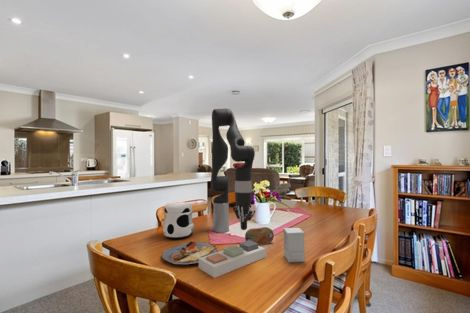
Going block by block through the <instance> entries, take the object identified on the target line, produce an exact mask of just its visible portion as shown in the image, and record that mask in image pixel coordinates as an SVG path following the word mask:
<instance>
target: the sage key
mask: <svg viewBox="0 0 470 313" xmlns="http://www.w3.org/2000/svg"><path fill="white" fill-rule="evenodd" d="M223 250H224V254H226V255H228V256H230V257H232V258H233V257H236V256H239V255H241V254H243V248H241V247H238V245H236V244H233V245H230V246H227V247H223Z"/></svg>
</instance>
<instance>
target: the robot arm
mask: <svg viewBox="0 0 470 313" xmlns="http://www.w3.org/2000/svg"><path fill="white" fill-rule="evenodd" d="M211 112H212V113H211V131H212V133H211V134H212V140H211V141H212V142H211V143H212V144H211V175H210V189H211V191H212V192H222V193H221V194H218V195H217V196H215V197H213V214H212V230H213V231H214V233H220V234H221V233H227V232H229V231H230V217H229V216H230V212H229V211H230V208H229V207H230V205H229V191H230V190H229V185H230V180H229V177H228V176H227V175H219V172H220V170H222V167H224V165H225V164H226V162H227V161H228V157H229V148H230V157H231V158H230V159H231V160H232V161H234V162H238V163H239V162H240V163H243V162H244V163H243V165H242V166H238V167H236V168H235V170H234V177H235V178H234V179H235V180H234V202H236V203H235V206H233V207H232V210H233V212H234V214H235V216H236V219H237V220H239V222H240V230H242V231H245V230H247V228H248V221H251V220H252V219H253V217H254V215H255V213H256V210H254V209H253V208H252V204H251V202H252V201H253V190H252V189H253V187H252V168H253V164H254V160H255V156H256V155H255V154H256V152H255V148H254V147H253V145H245V143H246V142H245V139H244V138H243V135H242V133H240V130H239V127H238V124H237V121H236V118H235V114H234V112H233V111H232V109H231V108H214V109H213V110H212V111H211ZM227 126H229V127H228V129H227V131H226V134H225V135H226V140H227V142H228V144H229V147H228V144H227V143H226V141H225V139H224V138H223V136H222V135H221V132H220V127H227Z"/></svg>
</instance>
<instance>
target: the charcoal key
mask: <svg viewBox="0 0 470 313" xmlns="http://www.w3.org/2000/svg"><path fill="white" fill-rule="evenodd" d="M238 245H239V247H241V248H243V250H245V251H248V252H250V251H252V250H255V249H258V246H259V245H258V243H255V242H253V241H250V240H248V241H246V240H245V241H242V242H239V244H238Z"/></svg>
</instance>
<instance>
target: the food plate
mask: <svg viewBox="0 0 470 313" xmlns="http://www.w3.org/2000/svg"><path fill="white" fill-rule="evenodd" d="M216 252H218V248H217V246H216V245H215V244H211V243H208V242H201V241H189V242H186V243H180V244H176V245H174V246H172V247H170V248H166V249H165V250H164V251H163V252H162V254H161V258H162V259H163V260H165V261H166V262H168V263H170V264H171V263H172V264H174V265H186V266H187V265H190V264H199V260H198V258H201V257H204V256H207V255H210V254H213V253H216Z"/></svg>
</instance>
